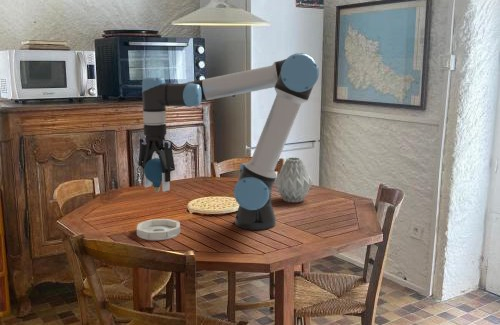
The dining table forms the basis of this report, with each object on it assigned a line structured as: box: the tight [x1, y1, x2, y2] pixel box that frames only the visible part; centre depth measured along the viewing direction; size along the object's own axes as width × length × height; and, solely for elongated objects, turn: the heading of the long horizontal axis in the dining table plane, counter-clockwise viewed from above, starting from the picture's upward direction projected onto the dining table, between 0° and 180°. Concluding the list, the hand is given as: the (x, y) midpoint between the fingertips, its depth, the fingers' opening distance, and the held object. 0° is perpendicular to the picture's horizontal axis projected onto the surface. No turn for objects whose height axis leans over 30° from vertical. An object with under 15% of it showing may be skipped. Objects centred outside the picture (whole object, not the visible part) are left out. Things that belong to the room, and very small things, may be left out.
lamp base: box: [136, 218, 181, 241], centre depth 179 cm, size 15×15×3 cm
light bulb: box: [144, 157, 167, 193], centre depth 175 cm, size 8×8×12 cm
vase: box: [274, 157, 313, 204], centre depth 220 cm, size 16×16×18 cm
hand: (157, 188), depth 176 cm, fingers closed on light bulb, 8 cm apart
